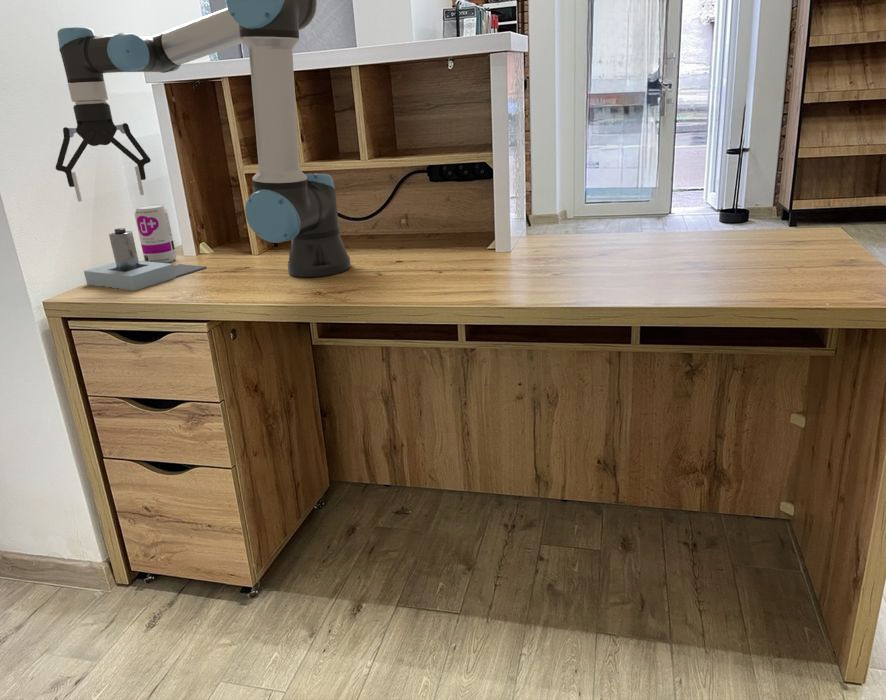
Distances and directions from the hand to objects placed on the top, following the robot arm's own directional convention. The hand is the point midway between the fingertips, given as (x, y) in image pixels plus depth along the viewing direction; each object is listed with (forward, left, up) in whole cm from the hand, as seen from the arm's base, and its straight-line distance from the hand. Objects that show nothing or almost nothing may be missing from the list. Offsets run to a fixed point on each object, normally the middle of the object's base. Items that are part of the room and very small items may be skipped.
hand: (111, 197), depth 166 cm
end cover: (0, 0, -21) cm, 21 cm away
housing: (0, 0, -21) cm, 21 cm away
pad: (-4, -11, -21) cm, 24 cm away
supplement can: (+11, -18, -21) cm, 30 cm away
